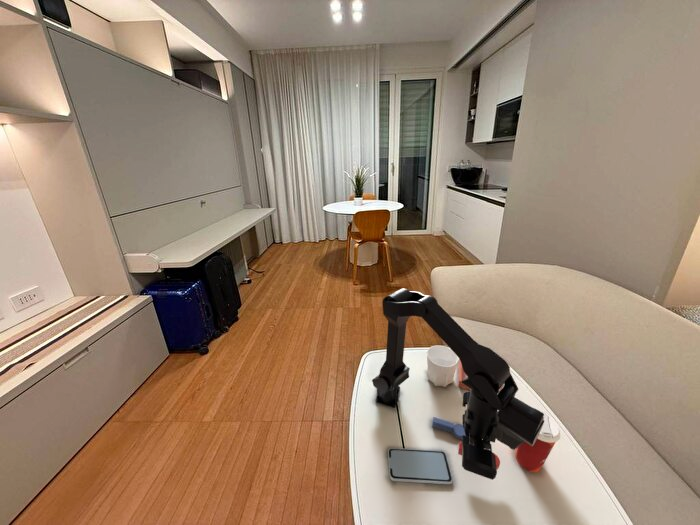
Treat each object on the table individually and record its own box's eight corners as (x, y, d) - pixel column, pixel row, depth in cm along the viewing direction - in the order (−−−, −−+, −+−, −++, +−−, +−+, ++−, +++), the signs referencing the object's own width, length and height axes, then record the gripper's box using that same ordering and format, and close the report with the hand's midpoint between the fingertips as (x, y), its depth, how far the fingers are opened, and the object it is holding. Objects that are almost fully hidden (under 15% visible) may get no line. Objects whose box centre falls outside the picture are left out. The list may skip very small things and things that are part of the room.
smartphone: (453, 483, 63) (389, 479, 63) (453, 485, 63) (389, 481, 64) (445, 450, 69) (387, 447, 70) (444, 453, 70) (387, 449, 71)
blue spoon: (431, 430, 75) (432, 424, 75) (433, 418, 78) (433, 413, 78) (466, 441, 72) (467, 435, 71) (466, 429, 75) (467, 423, 74)
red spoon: (458, 458, 64) (459, 452, 63) (458, 444, 67) (459, 438, 66) (500, 472, 61) (501, 466, 60) (498, 457, 64) (500, 451, 63)
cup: (425, 386, 89) (427, 364, 85) (424, 365, 98) (426, 343, 94) (456, 391, 87) (460, 368, 83) (452, 369, 96) (456, 347, 92)
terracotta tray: (458, 386, 89) (459, 380, 88) (458, 360, 100) (459, 355, 99) (500, 397, 84) (502, 391, 83) (496, 369, 95) (497, 363, 94)
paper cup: (552, 480, 63) (569, 441, 58) (516, 473, 65) (530, 435, 59) (537, 447, 70) (551, 409, 65) (506, 441, 72) (517, 404, 66)
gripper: (535, 464, 47) (516, 513, 53) (517, 384, 63) (504, 429, 69) (467, 442, 51) (457, 490, 57) (466, 372, 67) (459, 415, 73)
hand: (472, 452), depth 64 cm, fingers closed on red spoon, 1 cm apart
